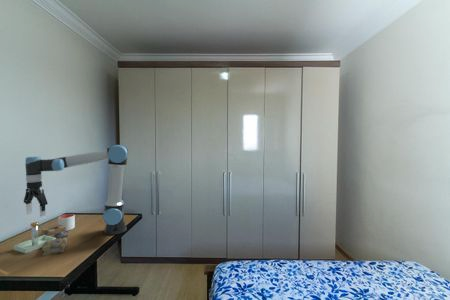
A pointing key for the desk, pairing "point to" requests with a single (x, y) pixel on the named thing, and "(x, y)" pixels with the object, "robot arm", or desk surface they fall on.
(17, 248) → the tray
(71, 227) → the cup
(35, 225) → the lock pin
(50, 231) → the block
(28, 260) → the desk surface
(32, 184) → the robot arm
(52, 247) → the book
